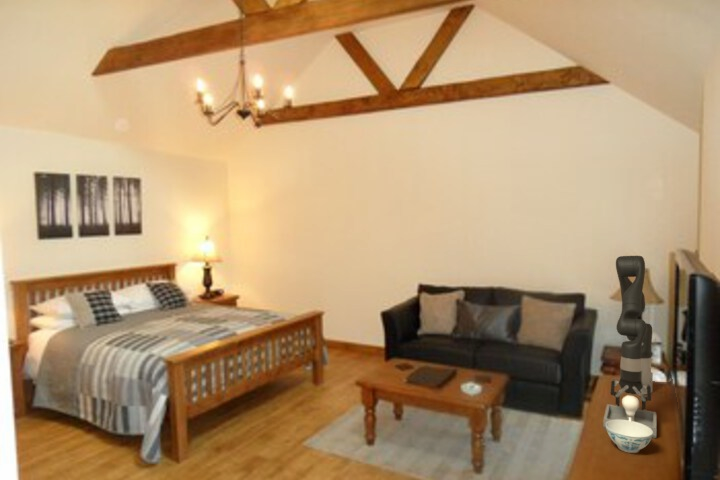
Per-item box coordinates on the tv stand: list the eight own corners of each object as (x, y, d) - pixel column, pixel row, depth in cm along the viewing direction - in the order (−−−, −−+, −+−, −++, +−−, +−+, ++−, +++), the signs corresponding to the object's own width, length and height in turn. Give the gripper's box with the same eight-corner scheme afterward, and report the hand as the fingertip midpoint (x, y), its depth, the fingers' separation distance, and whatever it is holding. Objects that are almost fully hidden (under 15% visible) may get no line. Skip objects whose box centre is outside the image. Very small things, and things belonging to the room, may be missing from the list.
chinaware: (599, 448, 178) (599, 428, 178) (613, 435, 189) (613, 416, 188) (645, 463, 168) (645, 440, 167) (657, 448, 178) (658, 427, 178)
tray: (607, 413, 211) (607, 404, 210) (656, 421, 201) (656, 412, 201) (603, 428, 195) (603, 418, 195) (656, 438, 186) (656, 428, 186)
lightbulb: (622, 423, 197) (622, 396, 197) (620, 418, 203) (620, 391, 203) (640, 426, 195) (640, 398, 195) (638, 420, 200) (638, 393, 200)
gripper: (651, 368, 197) (651, 408, 198) (611, 363, 204) (611, 401, 205) (651, 373, 191) (650, 414, 191) (610, 367, 198) (609, 407, 198)
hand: (630, 407), depth 198 cm, fingers open, 8 cm apart
